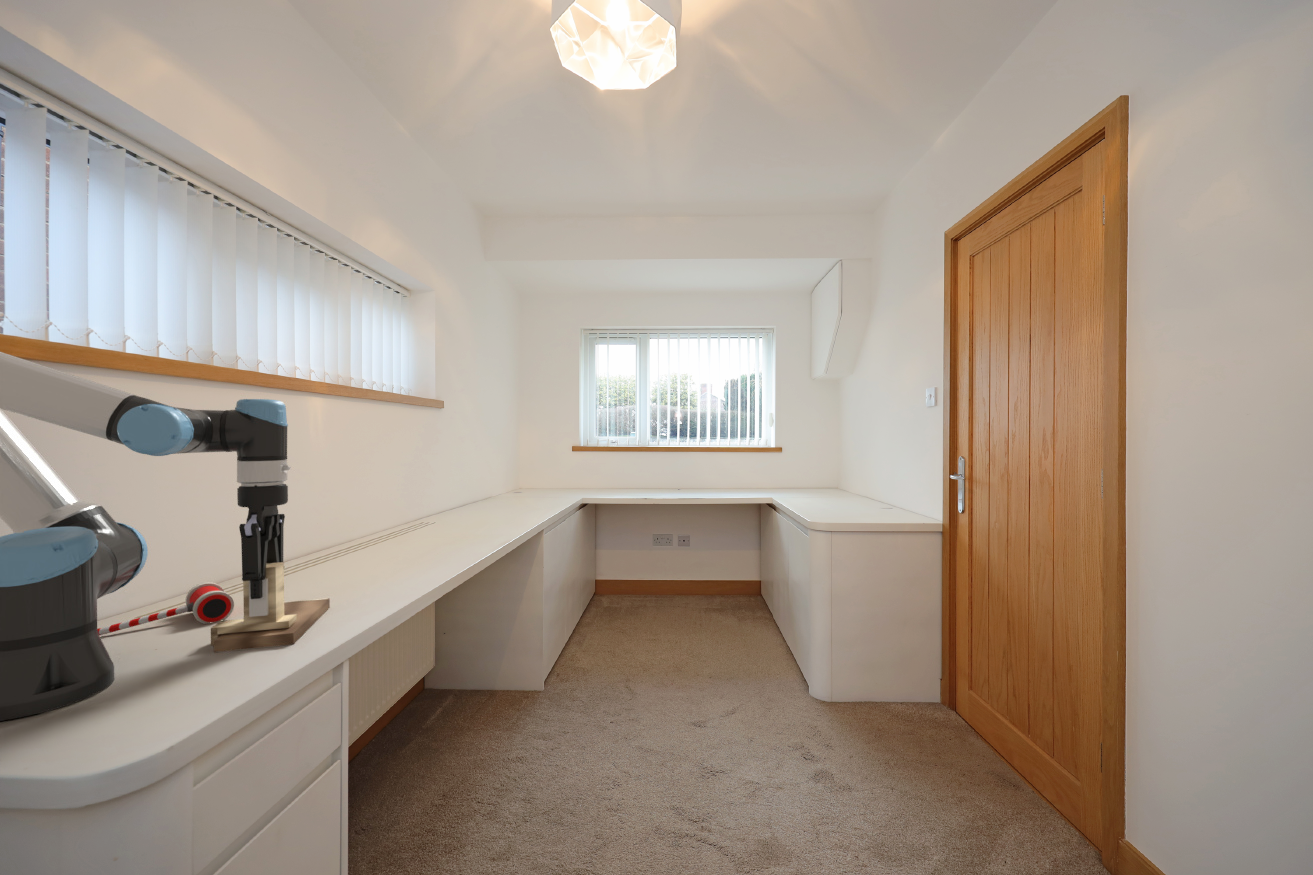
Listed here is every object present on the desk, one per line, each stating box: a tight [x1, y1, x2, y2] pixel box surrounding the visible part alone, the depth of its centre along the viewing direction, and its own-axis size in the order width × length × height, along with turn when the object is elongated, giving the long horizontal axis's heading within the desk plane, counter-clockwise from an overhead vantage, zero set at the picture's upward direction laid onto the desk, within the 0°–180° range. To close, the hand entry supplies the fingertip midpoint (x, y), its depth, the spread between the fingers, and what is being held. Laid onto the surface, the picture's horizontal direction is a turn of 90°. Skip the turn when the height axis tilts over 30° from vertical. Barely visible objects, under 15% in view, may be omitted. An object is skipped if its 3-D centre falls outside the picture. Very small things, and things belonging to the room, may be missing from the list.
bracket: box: [210, 561, 297, 647], centre depth 100 cm, size 12×4×13 cm, turn 106°
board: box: [213, 598, 331, 653], centre depth 107 cm, size 12×22×2 cm, turn 16°
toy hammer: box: [97, 581, 235, 637], centre depth 108 cm, size 23×12×6 cm, turn 137°
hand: (264, 611), depth 101 cm, fingers closed on bracket, 4 cm apart
